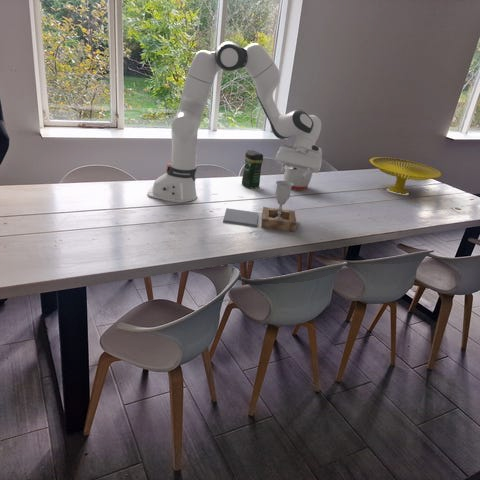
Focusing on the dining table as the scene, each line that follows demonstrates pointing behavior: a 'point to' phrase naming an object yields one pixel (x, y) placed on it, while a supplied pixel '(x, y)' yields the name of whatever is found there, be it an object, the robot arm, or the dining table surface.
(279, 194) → the chalice
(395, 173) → the cake stand
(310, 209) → the dining table surface
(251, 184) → the coffee jar
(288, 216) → the walnut holder
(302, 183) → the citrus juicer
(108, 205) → the dining table surface
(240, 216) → the grey mat
